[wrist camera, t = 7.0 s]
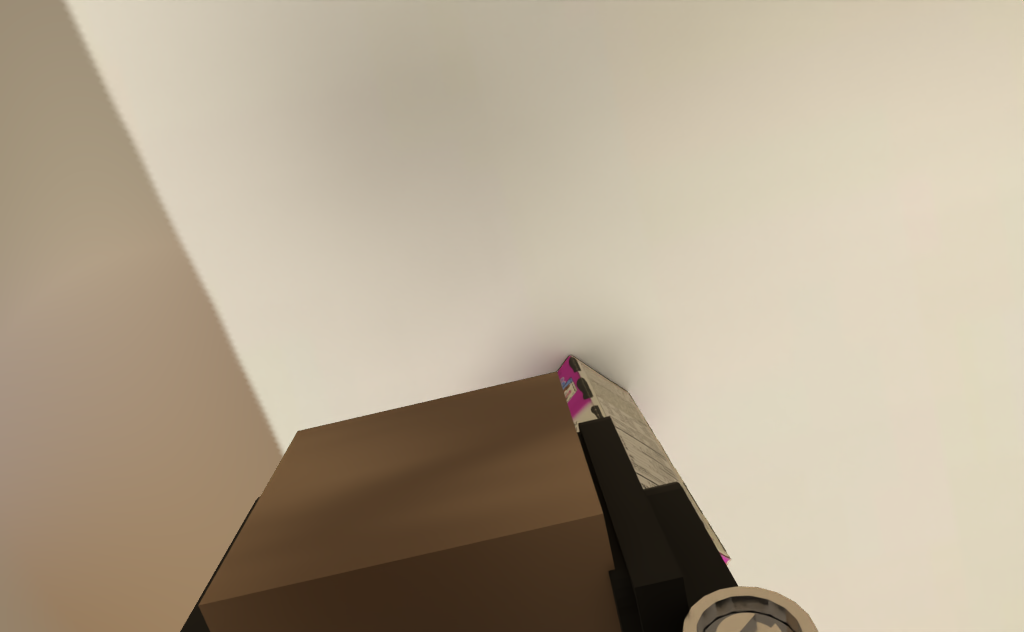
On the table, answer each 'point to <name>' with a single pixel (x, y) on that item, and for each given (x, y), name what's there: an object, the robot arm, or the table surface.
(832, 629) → the table surface
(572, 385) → the candy bar box
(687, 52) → the table surface
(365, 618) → the walnut block
